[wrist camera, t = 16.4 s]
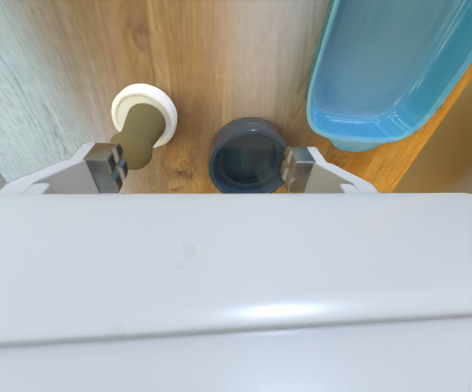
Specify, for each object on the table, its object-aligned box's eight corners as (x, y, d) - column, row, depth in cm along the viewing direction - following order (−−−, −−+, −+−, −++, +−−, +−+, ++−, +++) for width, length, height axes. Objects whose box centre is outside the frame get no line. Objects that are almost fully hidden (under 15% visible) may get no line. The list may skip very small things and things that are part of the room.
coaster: (176, 86, 37) (174, 93, 34) (178, 142, 43) (176, 151, 41) (111, 78, 35) (103, 85, 33) (123, 137, 42) (117, 146, 39)
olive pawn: (167, 140, 39) (155, 178, 31) (130, 137, 38) (107, 175, 30) (164, 104, 35) (149, 137, 27) (123, 101, 34) (95, 133, 26)
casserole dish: (387, -276, 19) (455, -382, 14) (589, -203, 22) (708, -266, 17) (280, 129, 43) (290, 148, 38) (385, 138, 46) (408, 156, 41)
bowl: (210, 184, 50) (210, 200, 46) (208, 116, 40) (207, 129, 36) (277, 183, 52) (283, 199, 48) (291, 117, 42) (300, 130, 38)
